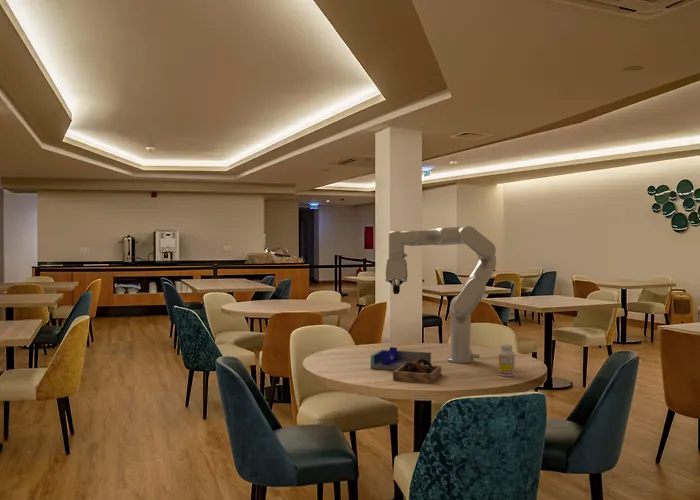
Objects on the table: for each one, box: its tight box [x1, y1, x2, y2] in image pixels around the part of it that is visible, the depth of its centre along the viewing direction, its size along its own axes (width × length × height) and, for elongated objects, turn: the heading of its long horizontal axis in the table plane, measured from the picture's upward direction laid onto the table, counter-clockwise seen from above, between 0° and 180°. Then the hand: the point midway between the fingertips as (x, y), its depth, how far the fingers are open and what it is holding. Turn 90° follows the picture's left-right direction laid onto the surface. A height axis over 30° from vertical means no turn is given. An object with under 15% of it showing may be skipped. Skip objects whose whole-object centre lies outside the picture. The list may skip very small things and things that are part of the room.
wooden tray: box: [392, 364, 442, 384], centre depth 257 cm, size 16×18×4 cm
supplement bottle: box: [498, 344, 516, 378], centre depth 262 cm, size 7×7×13 cm
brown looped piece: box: [404, 359, 433, 374], centre depth 260 cm, size 12×10×8 cm
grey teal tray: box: [370, 349, 432, 371], centre depth 279 cm, size 24×17×6 cm
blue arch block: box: [382, 346, 398, 365], centre depth 280 cm, size 12×4×6 cm, turn 156°
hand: (396, 293), depth 297 cm, fingers closed
